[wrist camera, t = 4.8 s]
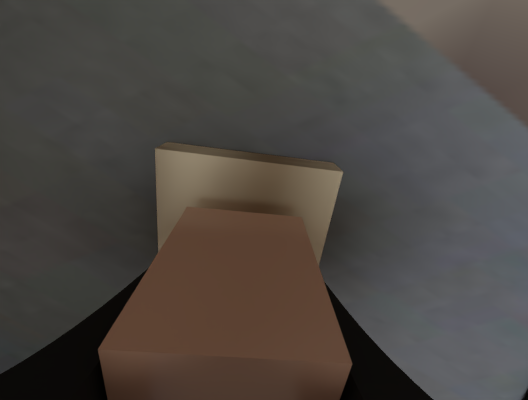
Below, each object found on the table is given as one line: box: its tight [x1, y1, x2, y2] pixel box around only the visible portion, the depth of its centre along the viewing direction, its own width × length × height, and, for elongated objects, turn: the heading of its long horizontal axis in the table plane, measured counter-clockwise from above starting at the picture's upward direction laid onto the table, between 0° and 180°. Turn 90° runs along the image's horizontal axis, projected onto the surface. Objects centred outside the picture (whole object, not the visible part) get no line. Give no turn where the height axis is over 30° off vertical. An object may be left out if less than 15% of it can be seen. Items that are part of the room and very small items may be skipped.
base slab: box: [155, 142, 343, 266], centre depth 13 cm, size 8×8×2 cm
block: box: [98, 207, 352, 400], centre depth 8 cm, size 4×4×6 cm
